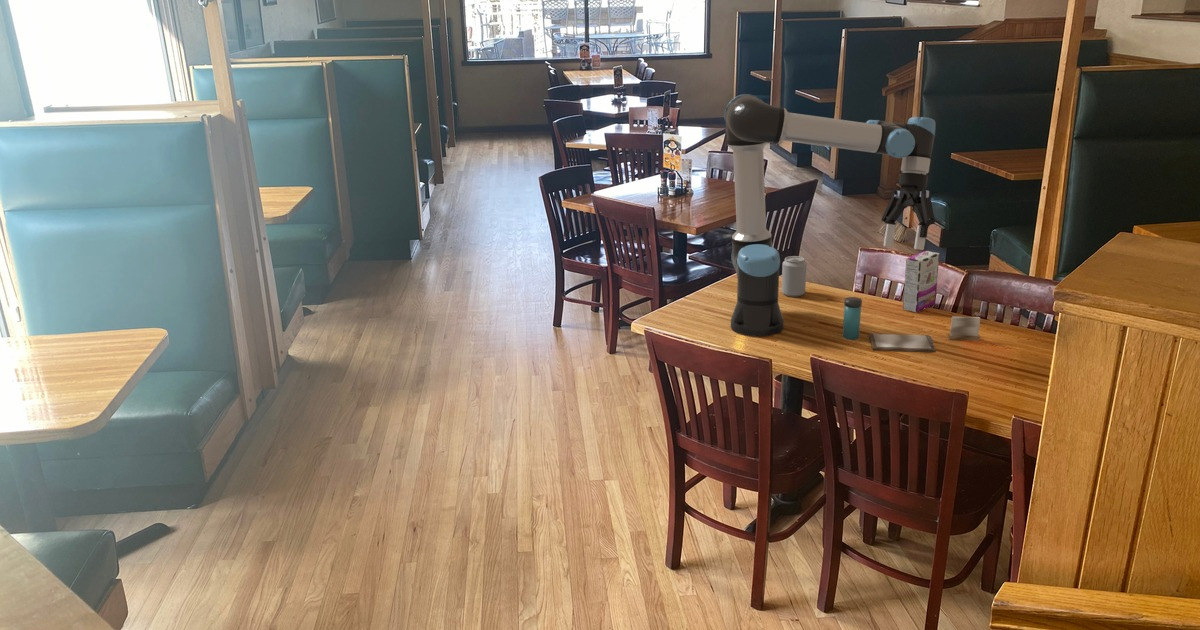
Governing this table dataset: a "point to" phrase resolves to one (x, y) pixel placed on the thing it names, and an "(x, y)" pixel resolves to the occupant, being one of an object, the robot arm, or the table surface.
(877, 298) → the table surface
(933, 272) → the candy bar box
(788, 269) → the can
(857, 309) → the teal lidded bottle
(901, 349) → the grey flat rectangular slab
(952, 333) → the word sign
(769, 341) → the table surface
